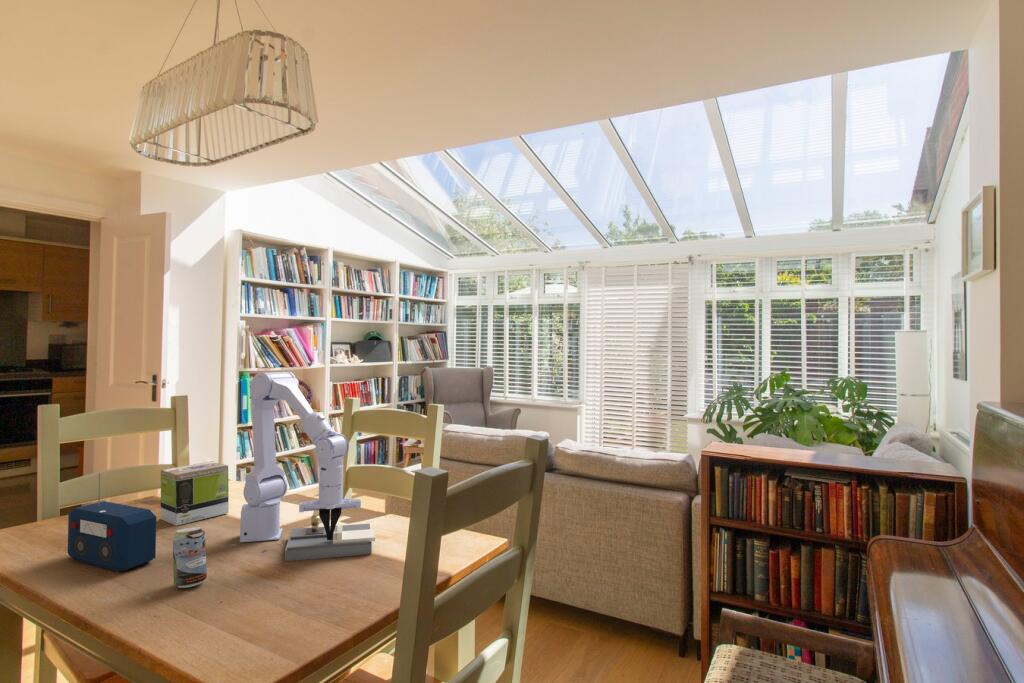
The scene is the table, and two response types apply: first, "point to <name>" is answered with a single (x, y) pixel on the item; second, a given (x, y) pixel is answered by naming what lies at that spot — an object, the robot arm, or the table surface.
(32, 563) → the table surface
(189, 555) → the beverage can
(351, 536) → the cover
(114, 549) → the radio
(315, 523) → the key
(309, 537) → the case
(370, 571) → the table surface
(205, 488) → the tea box
